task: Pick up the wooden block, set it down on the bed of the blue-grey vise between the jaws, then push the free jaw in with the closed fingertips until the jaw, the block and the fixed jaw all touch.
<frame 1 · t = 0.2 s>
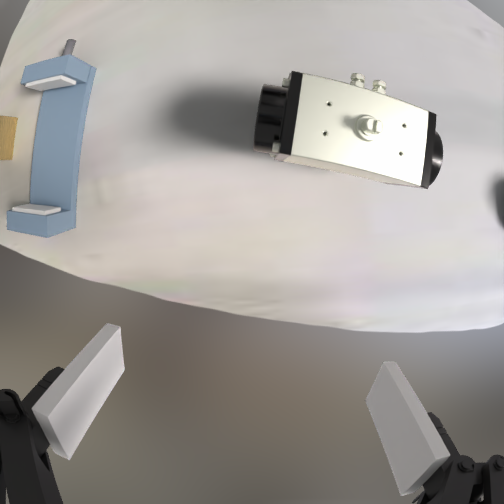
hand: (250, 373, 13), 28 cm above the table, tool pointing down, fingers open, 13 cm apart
vise: (58, 146, 37), on the table
white pneumatic actuator: (326, 141, 36), on the table
free jaw: (58, 60, 29), point 5 cm above the table, slide at 0.0 cm
wooden block: (9, 139, 36), on the table
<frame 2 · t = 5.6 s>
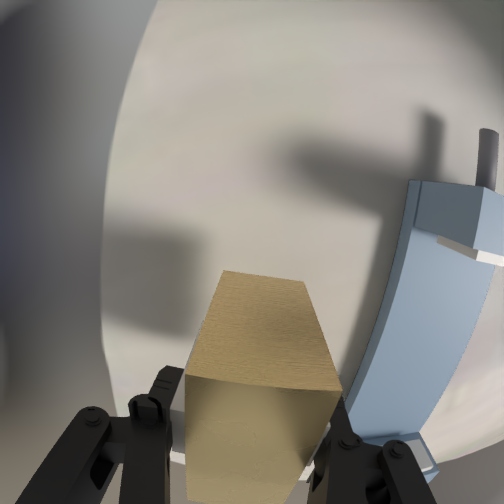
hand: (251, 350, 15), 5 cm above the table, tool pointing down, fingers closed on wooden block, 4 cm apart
vise: (416, 348, 21), on the table
free jaw: (501, 193, 13), point 5 cm above the table, slide at 0.0 cm
wooden block: (252, 344, 15), point 5 cm above the table, touching gripper
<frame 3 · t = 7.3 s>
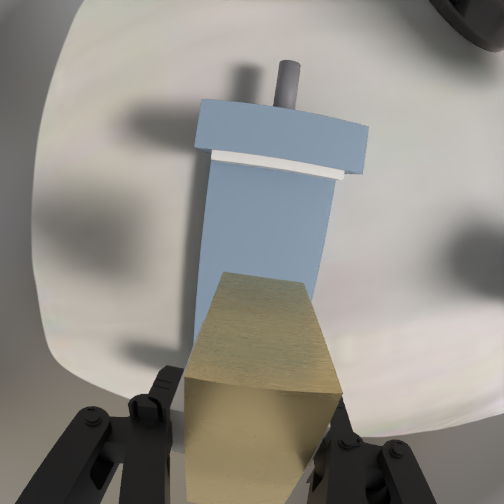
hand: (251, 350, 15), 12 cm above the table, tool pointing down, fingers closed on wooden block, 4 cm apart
vise: (256, 276, 26), on the table
free jaw: (284, 108, 18), point 5 cm above the table, slide at 0.0 cm
wooden block: (252, 345, 15), point 11 cm above the table, touching gripper
when the fingers open (3 cm above the table, at t = 9.0 s): wooden block stays where it is, resting on vise.
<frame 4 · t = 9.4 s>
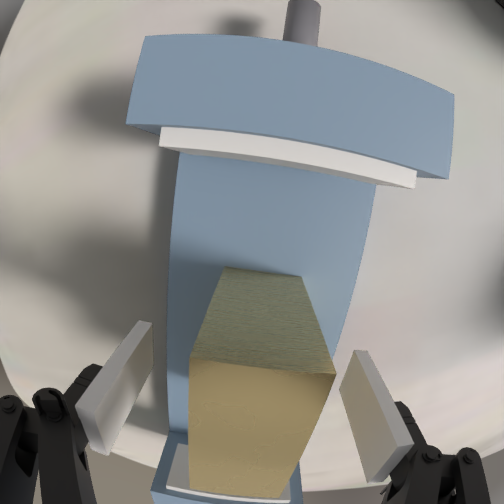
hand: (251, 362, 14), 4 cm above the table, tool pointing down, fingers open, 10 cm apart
vise: (253, 326, 17), on the table
free jaw: (300, 61, 9), point 5 cm above the table, slide at 0.0 cm
wooden block: (252, 337, 16), point 1 cm above the table, touching vise
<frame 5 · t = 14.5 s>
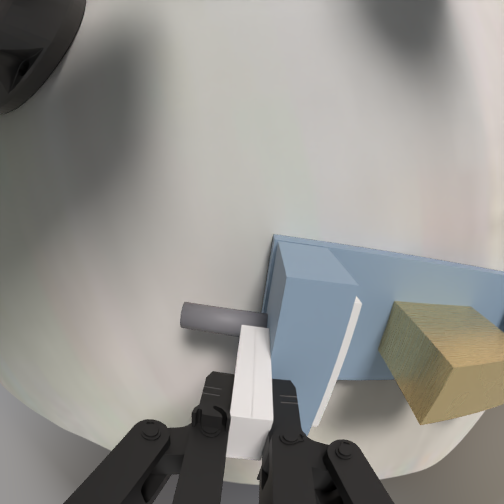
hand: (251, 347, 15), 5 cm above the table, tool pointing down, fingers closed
vise: (421, 318, 20), on the table
free jaw: (253, 341, 15), point 5 cm above the table, slide at 0.2 cm, touching gripper
wooden block: (428, 327, 19), point 1 cm above the table, touching vise
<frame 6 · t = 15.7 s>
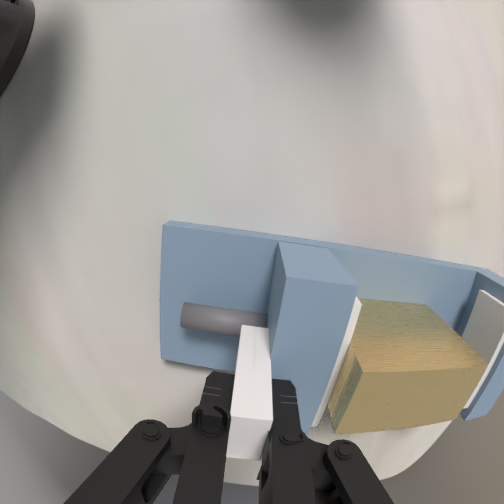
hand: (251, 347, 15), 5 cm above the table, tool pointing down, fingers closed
vise: (346, 314, 20), on the table
free jaw: (253, 341, 15), point 5 cm above the table, slide at 7.0 cm, touching gripper
wooden block: (372, 326, 19), point 2 cm above the table
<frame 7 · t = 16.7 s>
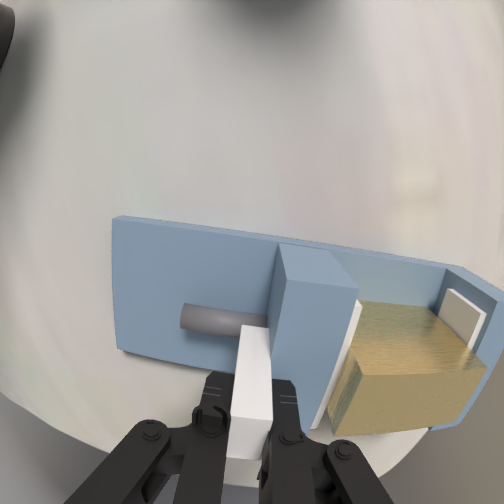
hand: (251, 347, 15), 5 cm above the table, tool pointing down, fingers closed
vise: (298, 311, 20), on the table
free jaw: (252, 343, 15), point 5 cm above the table, slide at 10.6 cm, touching wooden block, gripper
wooden block: (372, 328, 18), point 1 cm above the table, touching free jaw, vise
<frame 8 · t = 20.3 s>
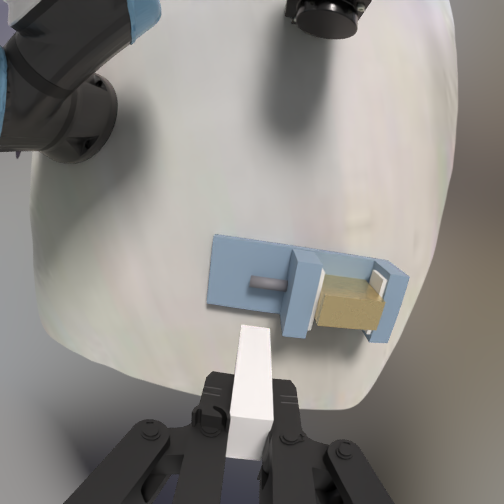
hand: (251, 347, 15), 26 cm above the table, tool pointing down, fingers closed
vise: (300, 280, 42), on the table
white pneumatic actuator: (311, 14, 32), on the table
free jaw: (282, 290, 37), point 5 cm above the table, slide at 10.7 cm, touching wooden block
wooden block: (337, 289, 41), point 1 cm above the table, touching free jaw, vise
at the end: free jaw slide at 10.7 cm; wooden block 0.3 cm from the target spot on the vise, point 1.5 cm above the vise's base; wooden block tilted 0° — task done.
